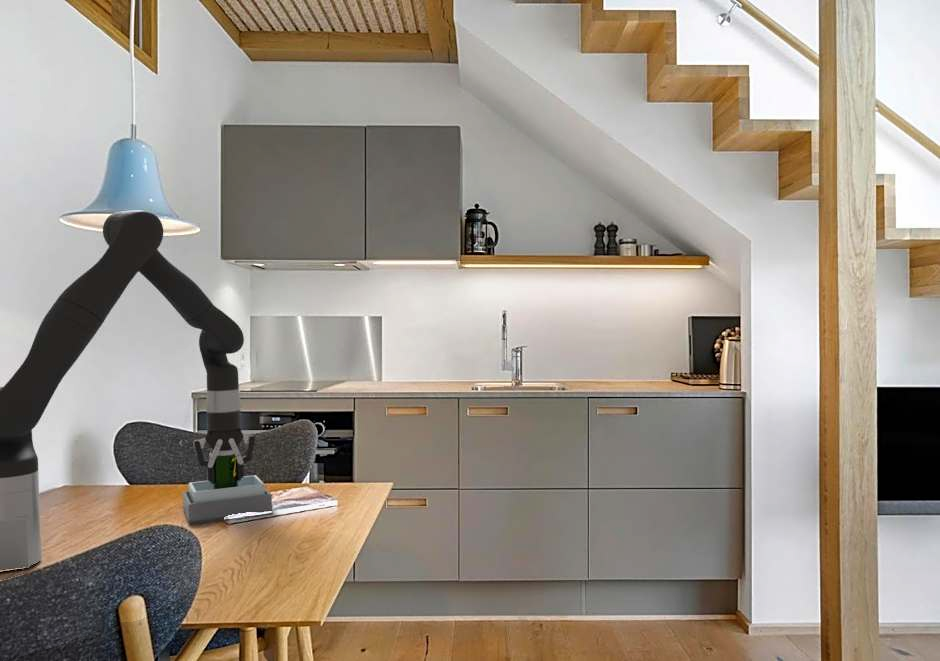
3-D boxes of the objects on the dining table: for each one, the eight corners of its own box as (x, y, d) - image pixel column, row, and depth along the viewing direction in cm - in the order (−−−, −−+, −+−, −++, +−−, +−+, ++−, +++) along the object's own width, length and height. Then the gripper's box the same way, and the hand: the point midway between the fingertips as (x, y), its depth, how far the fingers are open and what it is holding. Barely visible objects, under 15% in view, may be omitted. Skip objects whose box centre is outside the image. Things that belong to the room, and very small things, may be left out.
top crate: (265, 509, 174) (264, 483, 174) (194, 519, 167) (193, 492, 167) (256, 499, 184) (255, 475, 184) (189, 507, 177) (188, 482, 177)
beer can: (213, 504, 172) (212, 451, 172) (214, 499, 177) (212, 448, 177) (238, 502, 174) (236, 450, 173) (238, 496, 179) (236, 446, 179)
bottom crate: (272, 513, 173) (271, 494, 173) (189, 525, 165) (188, 504, 165) (261, 500, 186) (260, 482, 186) (183, 510, 178) (182, 491, 178)
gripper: (252, 405, 181) (254, 475, 182) (189, 409, 175) (191, 482, 176) (257, 408, 175) (260, 481, 175) (192, 413, 168) (194, 488, 169)
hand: (225, 481), depth 175 cm, fingers closed on beer can, 5 cm apart
